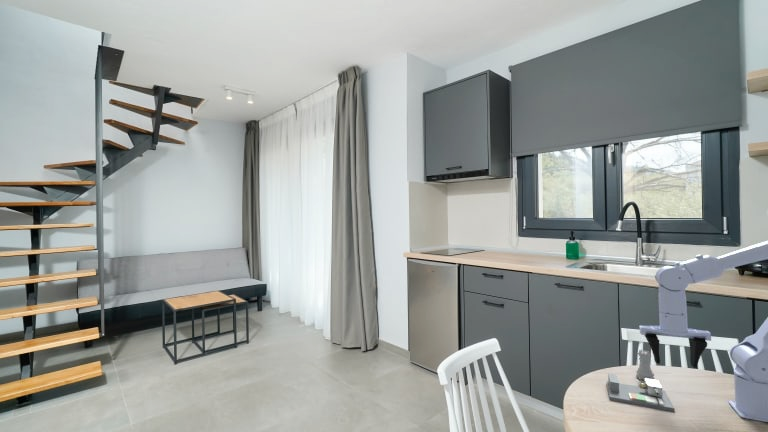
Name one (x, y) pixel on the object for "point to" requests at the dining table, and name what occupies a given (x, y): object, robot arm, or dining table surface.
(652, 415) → the dining table surface
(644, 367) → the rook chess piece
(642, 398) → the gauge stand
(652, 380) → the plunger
